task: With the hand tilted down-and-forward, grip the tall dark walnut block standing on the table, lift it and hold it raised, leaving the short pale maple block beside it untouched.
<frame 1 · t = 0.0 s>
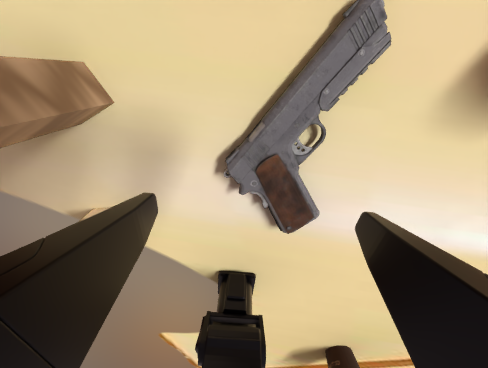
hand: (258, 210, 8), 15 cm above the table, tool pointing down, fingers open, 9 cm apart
handgun: (312, 143, 22), on the table
coffee mug: (332, 351, 50), on the table
walnut block: (82, 95, 20), on the table
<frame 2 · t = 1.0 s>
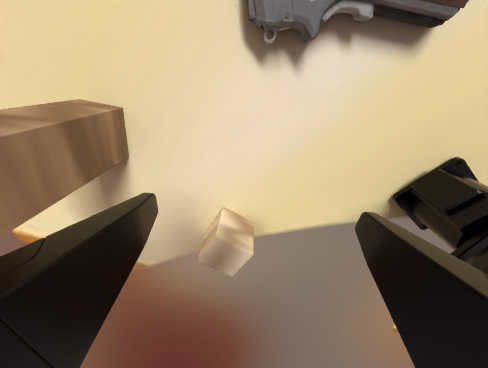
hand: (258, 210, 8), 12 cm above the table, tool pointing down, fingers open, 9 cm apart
maple block: (230, 225, 24), on the table
walnut block: (105, 130, 19), on the table
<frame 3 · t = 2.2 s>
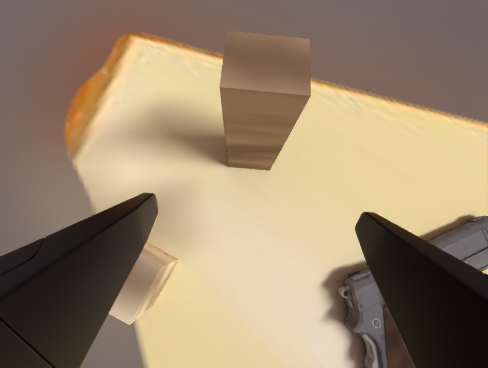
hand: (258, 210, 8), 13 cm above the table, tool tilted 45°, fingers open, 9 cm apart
handgun: (429, 310, 21), on the table
maple block: (149, 270, 20), on the table
walnut block: (250, 153, 24), on the table
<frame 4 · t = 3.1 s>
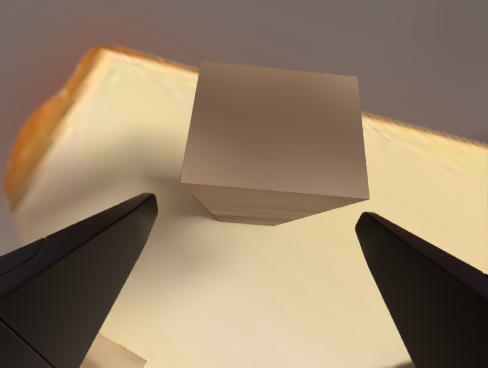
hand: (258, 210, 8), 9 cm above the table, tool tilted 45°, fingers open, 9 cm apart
walnut block: (248, 202, 18), on the table
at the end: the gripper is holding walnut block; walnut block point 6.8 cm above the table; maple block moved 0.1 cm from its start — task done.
